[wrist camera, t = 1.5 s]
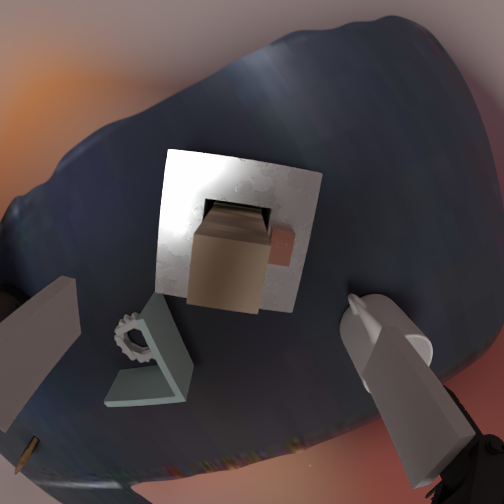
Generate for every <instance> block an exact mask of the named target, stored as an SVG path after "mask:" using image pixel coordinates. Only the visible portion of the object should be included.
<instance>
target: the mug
mask: <svg viewBox="0 0 504 504" xmlns="http://www.w3.org/2000/svg"><path fill="white" fill-rule="evenodd" d="M348 301H349V304H350V306H349V307H348V308H347V309H346V311H345V312H344V314H343V316H342V319H341V322H340V335H341V338H342V341H343V343H344V345H345V347H346V349H347V351H348V353H349V355H350V357H351V359H352V361H353V364H354V366H355V368H356V370H357V372H358V374H359V376H360V378H361V380H362V382H363V384H364V386H365V388H366V390H367V391H368V392H369V393H370V391H369V389H368V386H367V384H366V382H365V380H364V378H363V376H362V374H363V371H364V369H365V367H366V365H367V362H368V360H369V358H370V356H371V353H372V351H373V348H374V346H375V344H376V341H377V339H378V336H379V334H380V331H381V329H382V326H383V325H385V326H397V327H398V328H399V329H400V331H401V332H402V333H403V334H404V336H405V337H406V338H407V339H408V341H409V342H410V343H411V345H412V346H413V347H414V348H415V350H416V351H417V352H418V354H419V355H420V356H421V357H422V359H423V360H424V361H425V363H426V364H427V365H428V367H429V365H430V363H431V360H432V355H433V348H432V344H431V342H430V341H429V339H428V338H427V337H426V336H425V335H424V334H423V333H422V332H421V331H420V329H419V328H418V327H417V326H416V325H415V324H414V323H413V322H412V321H411V320H410V318H409V317H408V316H407V315H406V314H405V313H404V312H403V311H402V310H401V309H400V308H399V307H398V306H397V305H396V304H395V303H394V302H393V301H392V300H391V299H390V298H388V297H386V296H384V295H381V294H370V295H366V296H363V297H361V298H359V297H358V296H356V295H355V294H352V293H351V294H349V295H348Z"/></svg>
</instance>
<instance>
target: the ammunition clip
mask: <svg viewBox="0 0 504 504" xmlns="http://www.w3.org/2000/svg"><path fill="white" fill-rule="evenodd" d="M39 441H40V440H39V439H38V438H36V437H35V436H33V438H32V439H31V441H30V442H29V443H28V445H27V447H26V448H25V450H24V452H23V454H22V455H21V458H20V460H19V462H18V465H17V467H16V469H15V475H16V474H17V473H18V472H19V471H20V470H21V469H22V467H23V466H24V464H25V463H26V462H27V460H28V459H29V457H30V455H31V454H32V453H33V451H34V449H35V448H36V446H37V444H38V442H39Z"/></svg>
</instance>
